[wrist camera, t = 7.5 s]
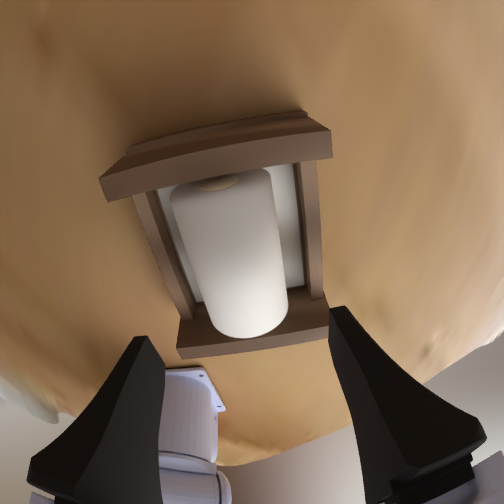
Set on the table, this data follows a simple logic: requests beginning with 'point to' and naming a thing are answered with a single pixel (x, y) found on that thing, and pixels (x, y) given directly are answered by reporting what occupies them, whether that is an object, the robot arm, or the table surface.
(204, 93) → the table surface
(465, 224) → the table surface
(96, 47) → the table surface
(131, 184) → the cradle
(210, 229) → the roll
